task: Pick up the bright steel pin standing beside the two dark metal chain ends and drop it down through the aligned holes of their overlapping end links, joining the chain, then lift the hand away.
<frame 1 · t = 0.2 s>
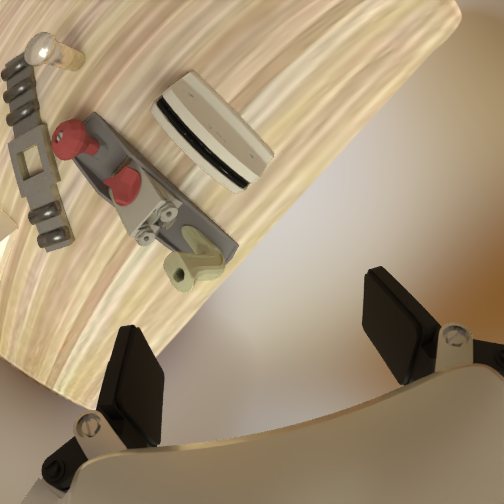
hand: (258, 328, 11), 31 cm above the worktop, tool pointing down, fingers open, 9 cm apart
beige arched grooved block: (213, 130, 36), on the worktop
hand plane: (149, 194, 39), on the worktop
chain ends: (36, 160, 32), on the worktop
pin: (75, 61, 28), on the worktop
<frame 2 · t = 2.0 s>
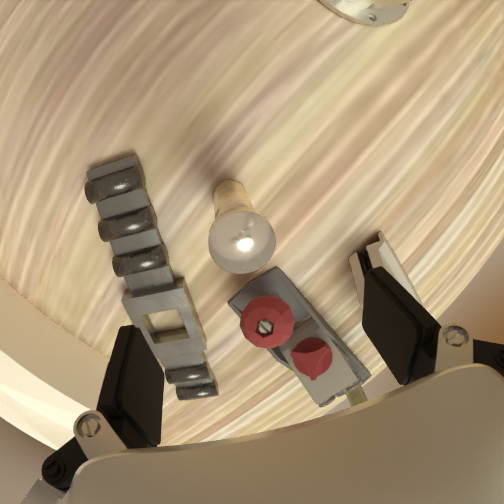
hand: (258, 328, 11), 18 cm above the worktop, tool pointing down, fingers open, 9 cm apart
beige arched grooved block: (382, 289, 36), on the worktop
hand plane: (313, 345, 38), on the worktop
chain ends: (167, 316, 32), on the worktop
pin: (229, 195, 27), on the worktop
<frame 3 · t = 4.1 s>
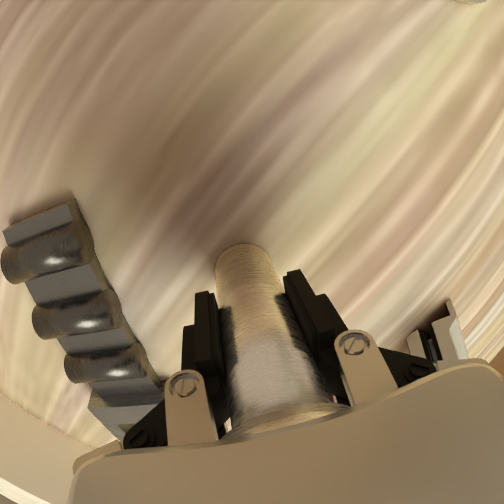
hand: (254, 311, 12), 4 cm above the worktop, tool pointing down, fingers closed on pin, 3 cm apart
beige arched grooved block: (433, 361, 24), on the worktop
chain ends: (154, 417, 20), on the worktop
pin: (243, 269, 16), on the worktop, touching gripper
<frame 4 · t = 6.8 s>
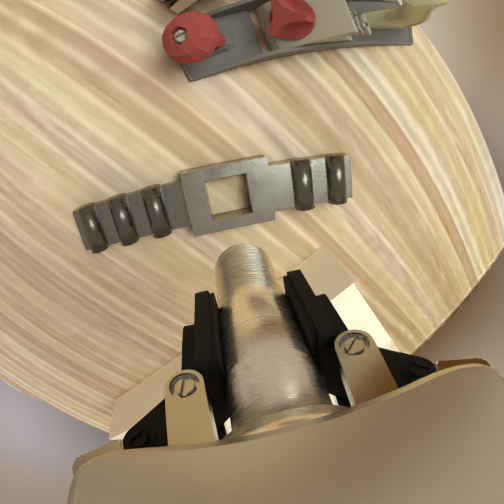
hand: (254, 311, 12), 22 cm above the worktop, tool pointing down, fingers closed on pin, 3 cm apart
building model: (244, 372, 46), on the worktop
hand plane: (305, 26, 25), on the worktop
chain ends: (227, 192, 32), on the worktop
pin: (243, 270, 15), point 18 cm above the worktop, touching gripper
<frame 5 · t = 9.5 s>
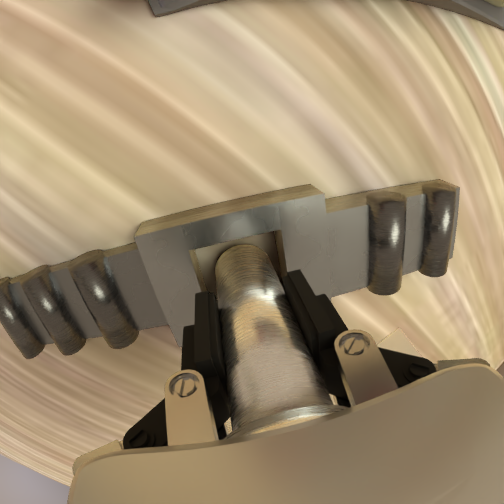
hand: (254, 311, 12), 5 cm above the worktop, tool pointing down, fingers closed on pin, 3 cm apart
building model: (263, 462, 30), on the worktop
chain ends: (239, 261, 16), on the worktop
pin: (243, 270, 15), point 1 cm above the worktop, touching gripper
when the fingers open (4 cm above the worktop, at t = 9.8 s): pin stays where it is, resting in chain ends.
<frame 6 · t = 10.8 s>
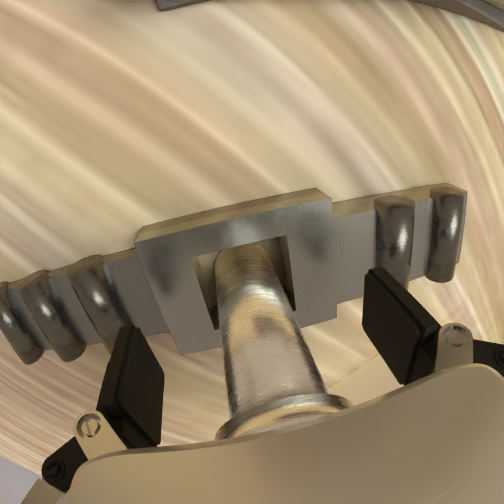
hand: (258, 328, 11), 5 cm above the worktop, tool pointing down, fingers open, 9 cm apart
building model: (265, 466, 30), on the worktop
chain ends: (242, 266, 16), on the worktop
pin: (242, 266, 16), resting in chain ends
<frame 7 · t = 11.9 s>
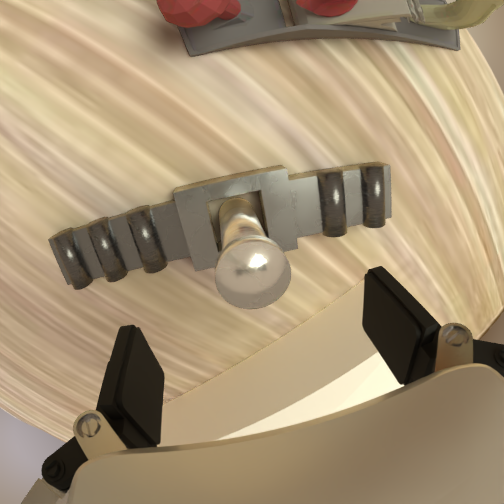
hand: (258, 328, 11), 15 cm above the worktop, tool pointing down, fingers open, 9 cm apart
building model: (258, 410, 39), on the worktop
hand plane: (340, 8, 18), on the worktop
chain ends: (236, 214, 25), on the worktop
pin: (236, 214, 25), resting in chain ends
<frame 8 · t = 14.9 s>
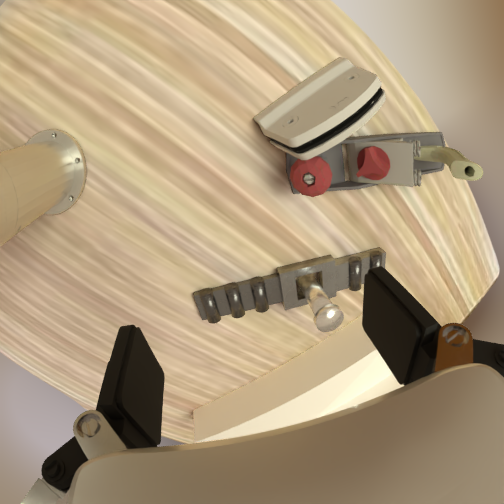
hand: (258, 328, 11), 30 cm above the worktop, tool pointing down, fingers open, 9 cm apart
beige arched grooved block: (314, 106, 36), on the worktop
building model: (300, 387, 61), on the worktop
hand plane: (375, 156, 40), on the worktop
chain ends: (306, 279, 47), on the worktop
pin: (305, 279, 47), resting in chain ends
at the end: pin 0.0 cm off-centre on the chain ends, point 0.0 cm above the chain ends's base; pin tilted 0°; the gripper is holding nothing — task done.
